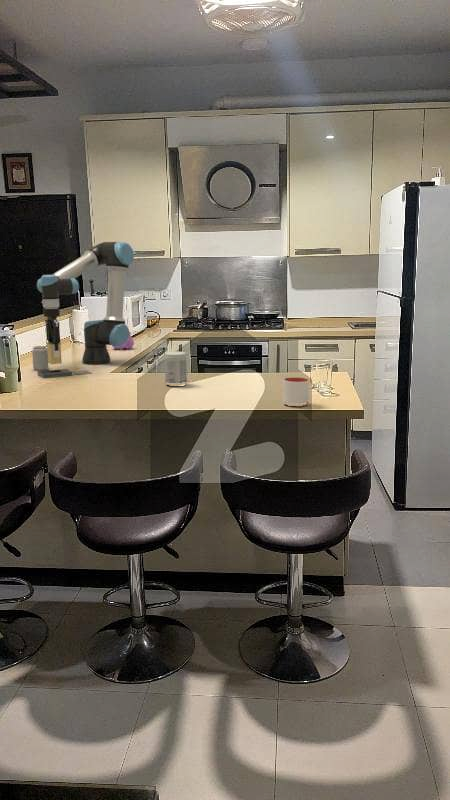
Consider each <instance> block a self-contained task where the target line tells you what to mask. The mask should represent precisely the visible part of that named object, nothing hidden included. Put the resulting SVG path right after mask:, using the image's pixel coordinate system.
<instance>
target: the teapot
mask: <svg viewBox="0 0 450 800" xmlns="http://www.w3.org/2000/svg"><path fill="white" fill-rule="evenodd" d="M131 334H132V332H131V331H129V337H128V340H127V341H126V342H125V343H124V344H123V345H121V346H112V348H114V350H118V351H123V350H122V349H124V348H126V349H130V350H131V349H132V348H133V346H134V344H135V342H134V339H133V336H132V335H131ZM118 348H119V349H118Z"/></svg>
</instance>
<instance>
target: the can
mask: <svg viewBox="0 0 450 800" xmlns="http://www.w3.org/2000/svg"><path fill="white" fill-rule="evenodd" d="M31 354H32V366H33V367H32V369H33V370H35V371H37V372H38V371H47V370H48V369H49V363H48V353H47V345H46V346H44V345H36V346H35V345H34V346H33V347H32V350H31Z"/></svg>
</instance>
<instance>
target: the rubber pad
mask: <svg viewBox="0 0 450 800" xmlns="http://www.w3.org/2000/svg"><path fill="white" fill-rule="evenodd" d="M73 374H74V375H76V376H80V375H89V374H93V372H91V371H89V370H78V371H76V370H75V371H72V375H73Z"/></svg>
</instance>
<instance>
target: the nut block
mask: <svg viewBox="0 0 450 800" xmlns="http://www.w3.org/2000/svg"><path fill="white" fill-rule="evenodd" d="M52 343H53V342H46V349H47V353H48V365H49V364H50V365H60V364H62V363H63V361H62V347H61V346H62V343H61V342H60V343H59V356H60V357H56V358H54V357H53V344H52Z"/></svg>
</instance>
